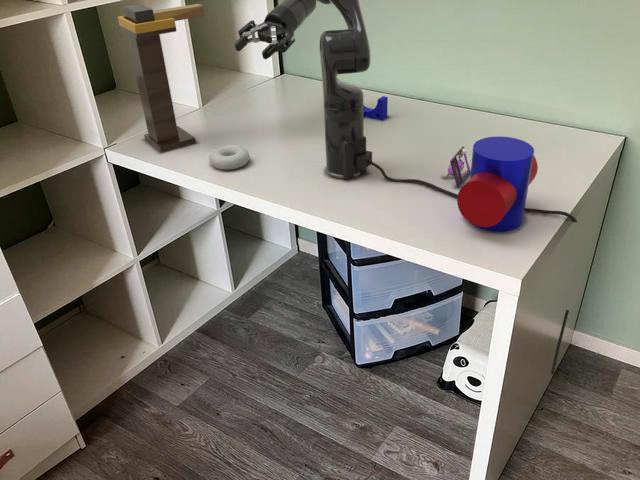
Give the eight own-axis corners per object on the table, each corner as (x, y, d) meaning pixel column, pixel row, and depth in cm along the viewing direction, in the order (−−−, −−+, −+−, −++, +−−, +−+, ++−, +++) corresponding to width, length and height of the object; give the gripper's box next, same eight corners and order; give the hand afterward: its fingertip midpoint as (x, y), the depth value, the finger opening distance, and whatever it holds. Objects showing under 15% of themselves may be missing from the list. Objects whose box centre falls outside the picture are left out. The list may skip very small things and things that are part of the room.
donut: (204, 170, 154) (242, 173, 153) (201, 157, 153) (240, 160, 151) (219, 154, 163) (255, 156, 161) (217, 141, 161) (254, 143, 159)
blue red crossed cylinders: (485, 192, 143) (493, 126, 134) (536, 204, 138) (547, 136, 129) (449, 231, 129) (455, 160, 120) (504, 246, 124) (515, 174, 115)
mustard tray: (176, 27, 151) (174, 18, 150) (136, 34, 146) (134, 25, 145) (157, 18, 158) (156, 10, 157) (119, 25, 153) (117, 16, 152)
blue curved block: (344, 114, 185) (344, 94, 181) (353, 109, 188) (352, 89, 185) (379, 121, 180) (379, 101, 176) (387, 117, 183) (387, 97, 179)
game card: (454, 160, 142) (466, 145, 149) (433, 163, 145) (446, 149, 151) (461, 187, 145) (473, 171, 151) (441, 189, 148) (453, 174, 154)
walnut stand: (196, 142, 168) (176, 27, 151) (161, 152, 163) (136, 34, 146) (178, 130, 176) (157, 18, 158) (144, 139, 171) (119, 25, 153)
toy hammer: (209, 17, 157) (206, 0, 155) (138, 29, 148) (134, 12, 145) (195, 12, 162) (193, -4, 160) (126, 24, 153) (122, 6, 150)
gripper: (261, -1, 163) (223, 32, 155) (306, 10, 158) (269, 45, 150) (267, 25, 169) (231, 58, 162) (310, 37, 164) (276, 71, 156)
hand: (250, 52), depth 156 cm, fingers open, 8 cm apart
